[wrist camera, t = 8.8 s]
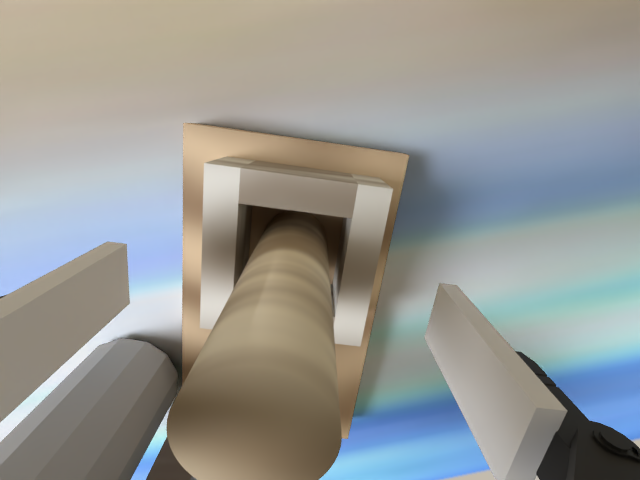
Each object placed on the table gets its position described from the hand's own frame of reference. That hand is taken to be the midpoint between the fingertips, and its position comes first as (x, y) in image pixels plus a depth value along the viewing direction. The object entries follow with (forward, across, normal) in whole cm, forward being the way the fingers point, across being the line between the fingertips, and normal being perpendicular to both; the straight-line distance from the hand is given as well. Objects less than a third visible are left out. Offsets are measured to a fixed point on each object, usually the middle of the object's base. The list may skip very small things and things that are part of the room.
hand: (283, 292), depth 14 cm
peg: (+7, 0, 0) cm, 7 cm away
